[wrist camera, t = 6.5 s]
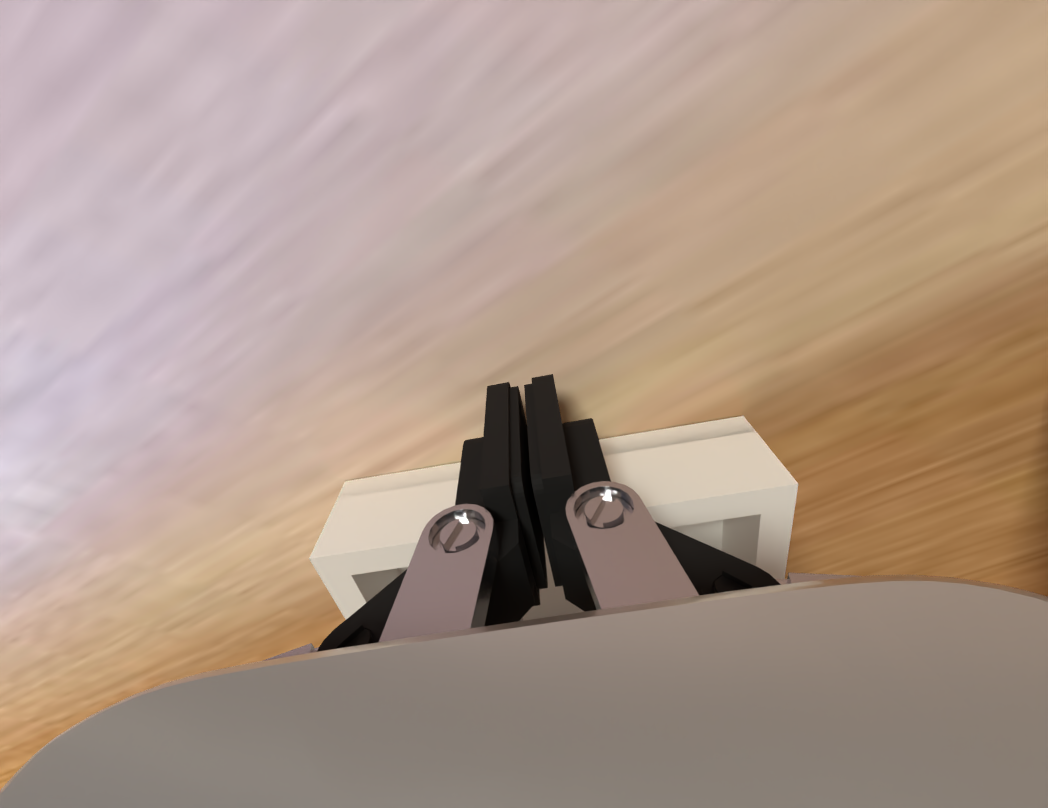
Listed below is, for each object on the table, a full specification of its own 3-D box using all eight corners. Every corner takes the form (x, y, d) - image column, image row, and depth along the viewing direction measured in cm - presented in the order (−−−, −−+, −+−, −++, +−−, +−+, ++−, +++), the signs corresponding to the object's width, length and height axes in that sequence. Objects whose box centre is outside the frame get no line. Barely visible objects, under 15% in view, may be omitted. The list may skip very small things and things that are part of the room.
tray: (743, 415, 14) (798, 483, 11) (725, 706, 22) (754, 785, 19) (345, 481, 14) (309, 558, 12) (470, 737, 22) (464, 817, 20)
